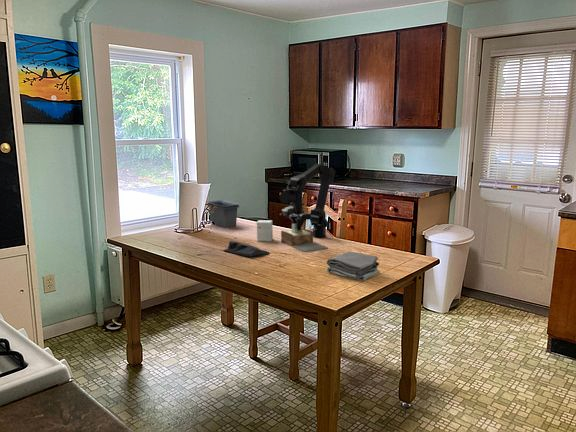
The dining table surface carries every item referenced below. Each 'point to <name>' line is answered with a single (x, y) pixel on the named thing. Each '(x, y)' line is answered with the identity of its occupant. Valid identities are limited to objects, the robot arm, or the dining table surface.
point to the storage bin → (223, 212)
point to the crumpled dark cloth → (244, 249)
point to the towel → (353, 265)
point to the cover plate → (296, 232)
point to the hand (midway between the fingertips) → (297, 230)
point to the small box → (264, 230)
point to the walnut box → (296, 238)
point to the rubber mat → (309, 247)
